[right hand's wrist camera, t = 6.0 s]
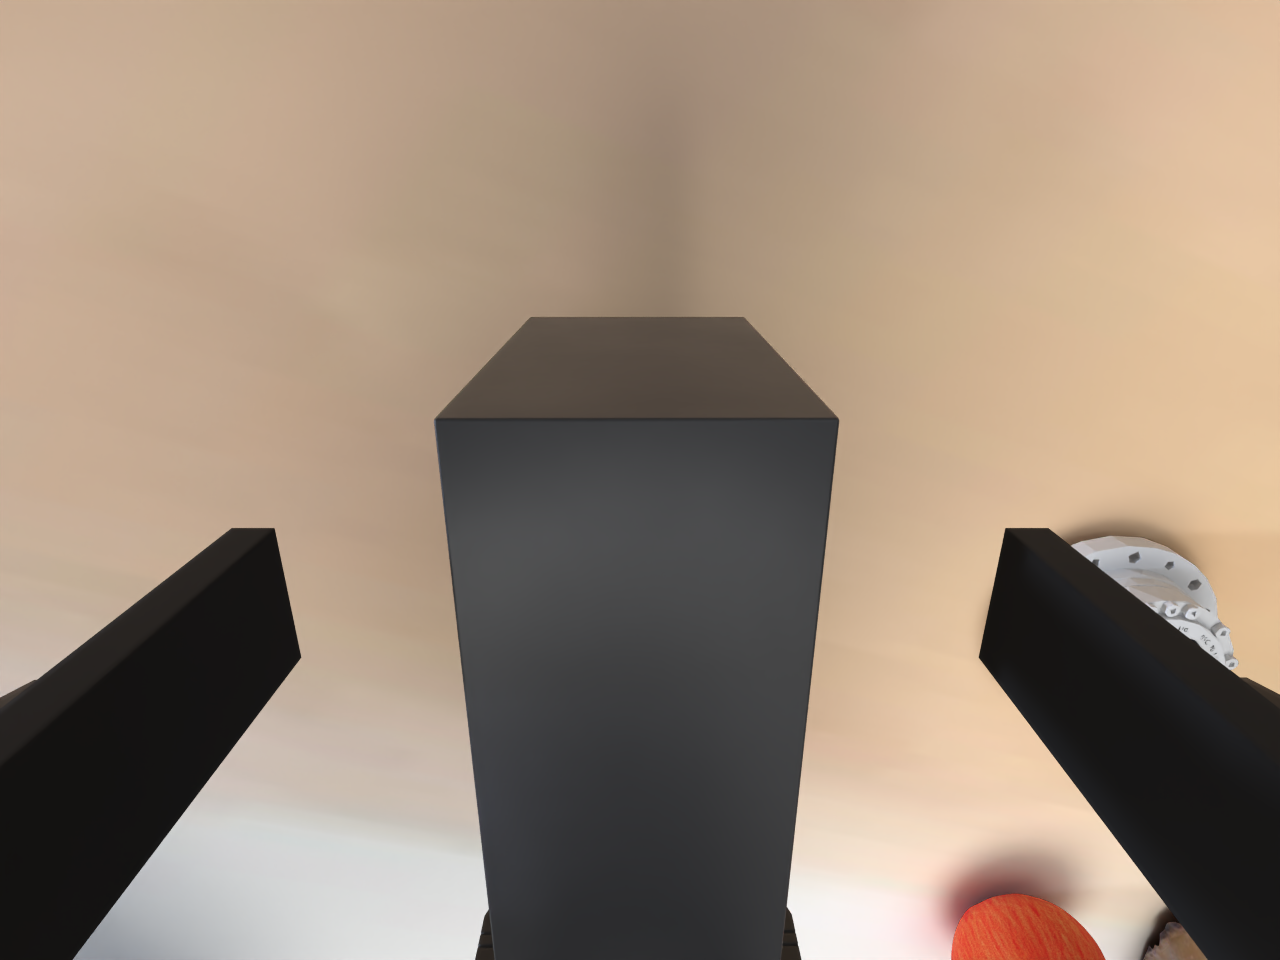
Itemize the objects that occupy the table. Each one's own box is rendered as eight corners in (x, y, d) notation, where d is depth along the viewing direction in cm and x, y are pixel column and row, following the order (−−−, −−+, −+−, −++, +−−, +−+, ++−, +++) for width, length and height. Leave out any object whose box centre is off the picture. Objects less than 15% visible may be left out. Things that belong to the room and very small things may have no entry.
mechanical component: (966, 704, 36) (1159, 709, 36) (1009, 769, 32) (1225, 774, 32) (1011, 529, 32) (1225, 535, 32) (1065, 576, 28) (1310, 584, 28)
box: (529, 317, 20) (432, 418, 10) (744, 316, 20) (840, 418, 10) (562, 885, 28) (524, 1228, 19) (714, 885, 28) (752, 1226, 19)
